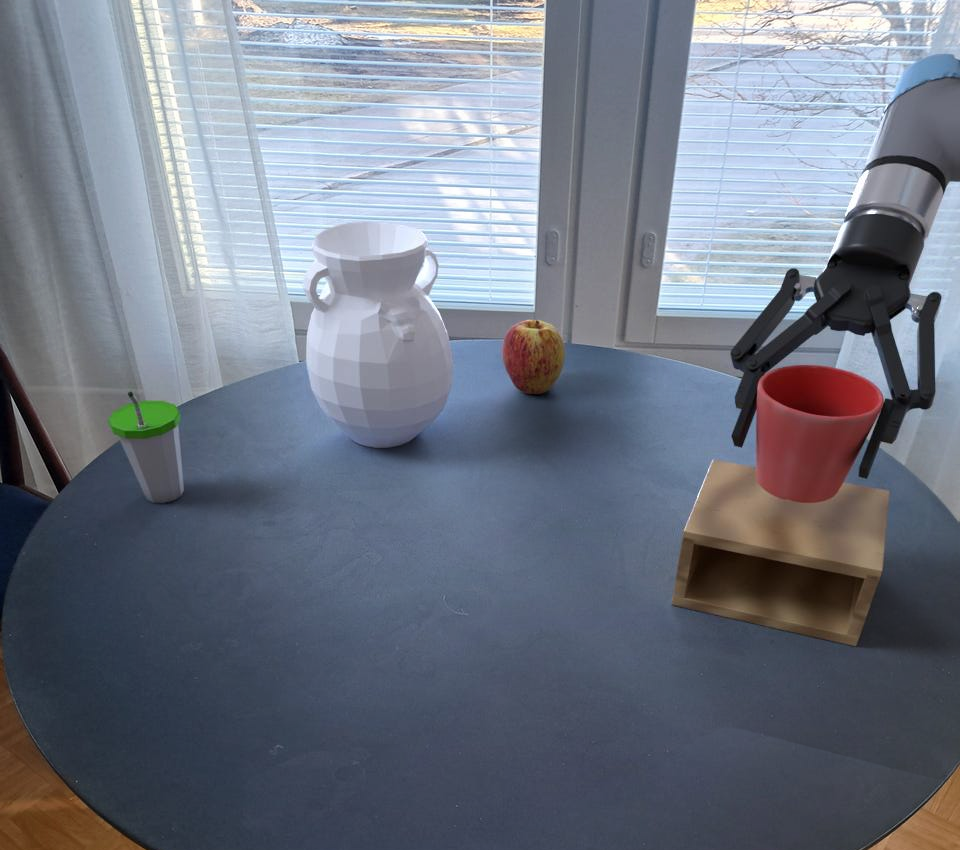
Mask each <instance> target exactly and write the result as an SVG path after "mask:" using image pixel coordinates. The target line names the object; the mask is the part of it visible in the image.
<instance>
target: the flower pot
mask: <svg viewBox="0 0 960 850" xmlns="http://www.w3.org/2000/svg"><path fill="white" fill-rule="evenodd" d="M884 401H885V398H884V395H883V393H882V391H881V390H880V389H879V387H878V386H877V385H876V384H874V382H872V381H870V380H869V379H867V378H866V377H864V376H862V375H861V374H857V373H855V372H853V371H849V370H845V369H843V368H837V367H832V366H827V365H819V364H793V365H787V366H786V365H785V366H782V367H781V366H780V367H778V368H774V369H771V370H769V371H768V372H766V373H765V375H763V376H762V377H761V379H760V380H759V382H758V389H757V410H756V419H755V420H756V425H755V427H756V428H755V461H756V462H755V463H756V466H755V467H756V473H757V481H758V483H759V485H760V486H761V487H762V488H763V489H764V490H765V491H766V492H768V493H769V494H771V495H773V496H775V497H777V498H780V499H784V500H786V499H788V500H791V501H793V502H797V503H818V502H823V501H826V500H828V499H830V498H832V497H834V496H835V495H836V494H837V493H838V491H839V489H840V488H841V486H842V484H843V483H845V480H846V478H847V477H848V475H849V473H850V472H851V470H852V467H853V465H854V464H855V462H856V461H857V458H858V456H859V454H860V452H861V451H862V448H863V447H864V444H865V443H866V440H867V439H868V437H869V434H870V432H871V430H873V427H874V426H875V424H876V422H877V419H878V417H879V414H880V411H881V409H882V407H883V403H884Z"/></svg>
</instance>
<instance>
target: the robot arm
mask: <svg viewBox="0 0 960 850" xmlns="http://www.w3.org/2000/svg"><path fill="white" fill-rule="evenodd" d="M950 182H951V183H952V182H953V183H960V59H958V58H956V56H955V54H952V53H936V54H931V55H928V56H925V57H923V58H921V59H917V61H915V62H913V63H912V64H911V65H909V66H908V67H907V68H906V69H905V71H903V72H902V74H901V76H900V78H899V79H898V82H897V84H896V85H895V88H894V90H893V92H892V94H891V97H890V99H889V101H888V103H887V105H886V106H885V108H884V109H883V113H882V115H881V117H880V122H879V126H878V128H877V131H876V134H875V137H874V140H873V142H872V145H871V148H870V151H869V153H868V156H867V159H866V161H865V165H864V167H863V170H862V172H861V174H860V177H859V179H858V182H857V184H856V187H855V189H854V192H853V195H852V197H851V199H850V202H849V204H848V207H847V210H846V212H845V215H844V219H843V224H842V225H841V227H840V228H839V231H838V234H837V236H836V239H835V242H834V244H833V248H832V250H831V252H830V255H829V257H828V260H827V263H826V265H825V267H824V269H823V270H822V271H821V273H819V274H818V275H817V276H811V275H804V274H800V271H799V270H798V269H797V268H795V267H792V268H789V269H788V270H787V271H786V273H785V275H784V278H783V280H782V283H781V286H780V289H779V290H778V292H777V293H776V294H775V295H774V297H773V298H772V299H771V300H770V302H769V303H768V304H767V305H766V307H764V309H763V310H762V311H761V313H760V314H758V316H757V318H756V319H755V320H754V321H753V323H752V324H751V325H750V326H749V327H748V329H747V330H746V331H745V332H744V334H743V335H742V336H741V338H740V339H738V341H737V342H736V343H735V345H734V346H733V347H732V349H731V350H730V352H729V353H730V354H729V356H730V360H731V363H732V367H733V368H734V369H735V370H737V371H738V370H739V371H741V372H742V373H743V374H742V376H741V379H740V381H739V385H738V388H737V390H736V392H735V394H734V404H735V408H736V409H739V410H740V412H739V415H738V416H737V420H736V423H735V425H734V428H733V431H732V433H731V440H732V443H733V446H734V447H738V448H741V449H742V448H743V446H744V444H745V441H746V438H747V435H748V433H749V430H750V428H751V425H752V424H753V420H754V417H755V415H756V413H757V389H758V382H759V380H760V379H761V377H762V376H763V375H765V374H766V373H768V372H770V371H771V370H772V369H773V368H774V367H776V366H777V365H778V364H779V363H780V362H782V361H783V360H784V359H785V358H787V357H788V356H789V355H790V354H792V353H793V352H794V351H795V350H796V349H798V348H799V347H800V346H801V345H803V344H804V343H806V341H807V340H809V339H810V338H812V337H813V336H816V335H818V334H820V333H821V332H822V331H824V330H825V329H826V328H827V327H828V328H829V329H830V331H834V332H835V331H836V332H850V333H852V334H853V335H857V336H862V337H865V335H867V334H871V337H872V340H873V343H874V346H875V347H876V350H877V355H878V357H879V361H880V363H881V367H882V369H883V370H882V371H883V374H884V377H885V380H886V383H887V387H888V390H889V393H890V397H891V398H886V397H885V398H884V403H883V407H882V409H881V411H880V413H879V415H878V417H877V419H876V421H875V423H874V426H873V427H874V428H873V429H872V432H871V435H870V437H869V440H868V443H867V446H866V449H865V451H864V454H863V456H862V459H861V462H860V464H859V467H858V477H859V478H861V479H865V480H867V479H868V477H869V475H870V472H871V470H872V468H873V464H874V462H875V459H876V457H877V454H878V452H879V448H880V446H881V443H886V444H889V445H893V443H895V441H896V440H897V439H898V435H899V433H900V431H901V427H902V425H903V422H904V420H905V418H906V415H907V413H908V412H909V411H911V410H915V409H921V410H922V411H923V410H924V411H925V410H929V409H930V408H932V406H933V404H934V400H935V396H936V392H937V391H936V339H935V338H936V337H935V330H936V329H935V324H936V320H937V318H938V315H939V311H940V309H941V302H942V299H943V298H942V297H943V296H942V294H941V293H940V292H938V291H932V292H929V294H927V295H922V294H916V293H911V289H910V286H911V283H912V279H913V277H914V274H915V272H916V269H917V267H918V265H919V261H920V258H921V256H922V253H923V250H924V247H925V241H926V240H927V238H928V237H929V234H930V232H931V229H932V227H933V224H934V221H935V218H936V216H937V213H938V210H939V208H940V205H941V202H942V200H943V198H944V195H945V192H946V189H947V187H948V185H949V183H950ZM809 293H813V295H814V298H815V301H816V302H814V303H813V304H811V305H810V306H809V307H808V308H807V309H806V311H805V312H804V313H803V315H802V316H800V317H798V319H797V320H795V321H794V322H793V323H792V324H790V325H789V326H788V327H787V328H785V329H783V331H782V332H780V333H779V334H778V335H777V336H775V337H774V338H773V339H772V340H770V341H769V342H768V343H767V344H766V345H765V346H763V344H764V343H765V342H766V341H767V340H768V338H769V337H770V336H771V334H773V332H774V331H775V330H776V329H777V327H778V326H779V325H780V323H782V322H783V320H784V319H785V317H786V316H787V315H788V314H789V312H790V311H791V310H792V309H793V306H794V305H795V302H800V301H802V299H804V298H805V296H806V295H807V294H809ZM906 309H907V310H909V311H910V313H911V317H910V318H911V320H912V321H913V322H915V324H917V325H918V326H917V330H916V371H917V372H916V374H917V375H916V376H917V389H911V388H910V385H909V381H908V378H907V375H906V372H905V369H904V365H903V361H902V358H901V355H900V353H899V349H898V346H897V342H896V340H895V336H894V333H893V328H892V321H891V320H892V319H895V317H897V316H898V315H900V314H901V313H902V312H904V311H905V310H906ZM762 346H763V347H762ZM761 347H762V348H761Z"/></svg>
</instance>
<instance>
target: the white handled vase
mask: <svg viewBox="0 0 960 850" xmlns="http://www.w3.org/2000/svg"><path fill="white" fill-rule="evenodd" d="M428 246H429V241H428V239H427V237H426V235H425V234H424V232H422V231H421V230H420V229H419V228H415V227H412V226H409V225H404V224H399V223H393V222H382V221H359V222H348V223H343V224H338V225H334V226H332V227H329V228H327V229H325V230H322V231H321V232H320V233H317V235H315V237H314V239H313V240H312V243H311V246H310V247H311V250H312V252H313V255H314V258H315V259H314V261H313V262H312V264H311V265H310V266H309V268H308V269H307V270H306V272H305V273H304V274H303V279H302V288H303V291H304V295H305V297H306V298H307V299H308V301H309V302H310V304H311V305H312V306H313V310H312V312H311V313H310V318H309V324H308V327H307V331H306V350H305V352H306V353H305V356H306V357H305V358H306V359H305V360H306V369H307V373H308V374H307V375H308V379H309V384H310V388H311V390H312V393H313V395H314V397H315V399H316V401H317V404H318V405H319V407H320V409H321V410H322V411H323V413H324V414H325V415H326V416H327V418H329V420H331V422H332V423H333V424H334V425H335V426H336V427H337V428H338V429H339V430H340V431H342V432H343V433H344V434H345V435H346V436H347V438H349V439H350V440H351V441H353V442H354V443H356V444H358V445H360V446H363V447H368V448H375V449H381V448H382V449H383V448H392V447H393V448H394V447H398V446H402V445H404V444H407V443H409V442H410V441H412V440H413V439H414V438H415V437H417V436H418V435H419V434H421V433H422V432H424V430H426V429H427V428H428V427H429V426H431V425H432V424H433V423H434V421H435V420H436V419H437V418H438V416H439V415H440V414H441V413H442V411H443V410H444V409H445V406H446V405H447V402H448V398H449V395H450V392H451V389H452V386H453V375H454V361H453V355H452V348H451V343H450V338H449V333H448V331H447V328H446V326H445V323H444V319H443V317H442V315H441V313H440V311H439V309H438V308H437V307H436V305H435V304H434V302H433V301H432V299H431V297H430V293H431V291H432V288H433V285H434V284H435V282H436V280H437V278H438V274H439V262H438V259H437V255H436V254H435V253H434V252H433V251H431V249H429V248H428ZM322 278H325V281H326V283H325V285H324V286H323V287H322V290H321V292H320V295H318V292H317V288H318V283H319V282H320V280H322Z"/></svg>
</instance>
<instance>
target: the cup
mask: <svg viewBox="0 0 960 850" xmlns="http://www.w3.org/2000/svg"><path fill="white" fill-rule="evenodd" d="M127 396H128V397H129V399H130V400H131V402H132V403H129V404H126V405H124V406H122V407H119V408H118V409H116V410H114V411H113V412H112V413H111V415H110V416H109V417H108V418H107V421H108V424H109V427H110V429H111V431H112V433H113V435H116V436H117V437H118V439H119V441H120V443H121V446H122V448H123V450H124V453H125V455H126V457H127V459H128V461H129V464H130V465H131V468H132V471H133V472H134V475H135V477H136V479H137V481H138V483H139V486H140V488H141V490H142V492H143V495H144V497H145V499H146V501H147V500H148V502H150V503H152V504H167V503H166V502H168V503H171V502H175V501H176V500H178V499H180V498H182V496H183V495H184V493H183V492H185V485H184V474H183V464H182V463H183V462H182V453H181V443H180V442H181V441H180V431H179V423H180V421H181V420H182V418H181V413H180V411H179V409H178V407H177V405H176V404H173V403H170V402H167V401H165V400H143V401H138V398H137V397H136V396H135V394H134V392H133V391H128V392H127ZM182 494H183V495H182ZM179 497H180V498H179Z"/></svg>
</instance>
